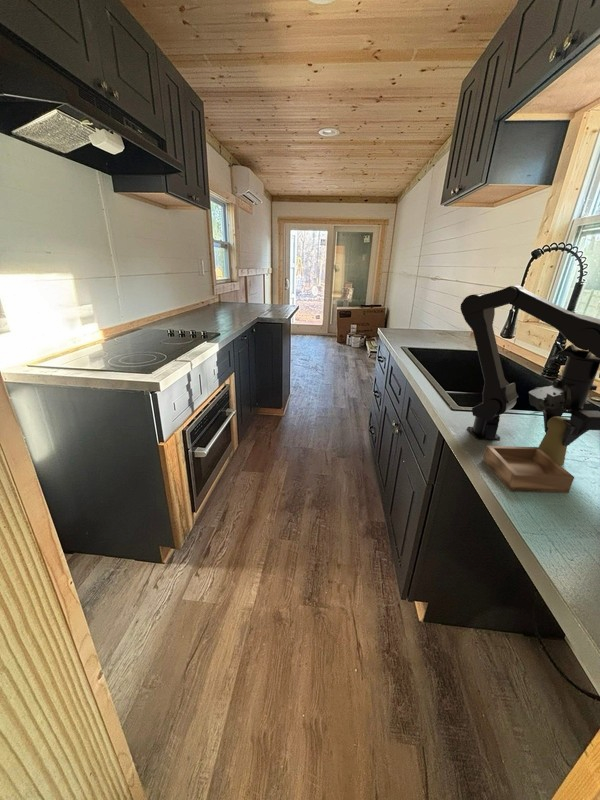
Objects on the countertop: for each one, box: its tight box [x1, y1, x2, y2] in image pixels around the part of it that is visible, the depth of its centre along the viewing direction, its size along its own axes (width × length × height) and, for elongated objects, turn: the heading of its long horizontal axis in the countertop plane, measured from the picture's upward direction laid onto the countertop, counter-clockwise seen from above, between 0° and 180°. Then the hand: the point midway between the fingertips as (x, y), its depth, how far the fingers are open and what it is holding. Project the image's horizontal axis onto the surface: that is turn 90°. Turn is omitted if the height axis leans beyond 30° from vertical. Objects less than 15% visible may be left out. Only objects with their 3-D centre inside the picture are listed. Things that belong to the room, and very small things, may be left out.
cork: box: [537, 416, 570, 466], centre depth 79 cm, size 6×6×11 cm
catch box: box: [482, 445, 575, 494], centre depth 74 cm, size 12×12×4 cm
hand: (555, 439), depth 79 cm, fingers open, 6 cm apart
